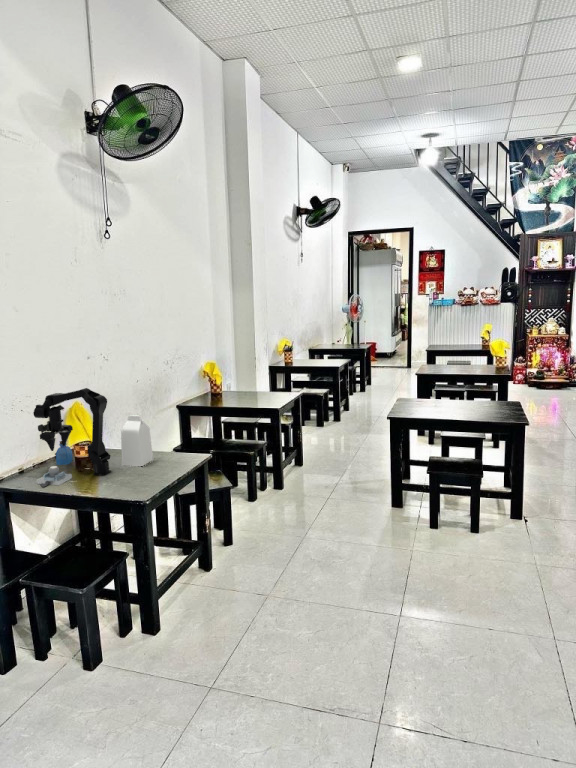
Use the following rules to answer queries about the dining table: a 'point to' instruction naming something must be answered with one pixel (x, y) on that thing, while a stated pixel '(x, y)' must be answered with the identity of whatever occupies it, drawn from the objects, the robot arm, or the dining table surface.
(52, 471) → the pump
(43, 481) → the motor block
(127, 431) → the milk
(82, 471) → the dining table surface
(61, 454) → the perfume bottle
